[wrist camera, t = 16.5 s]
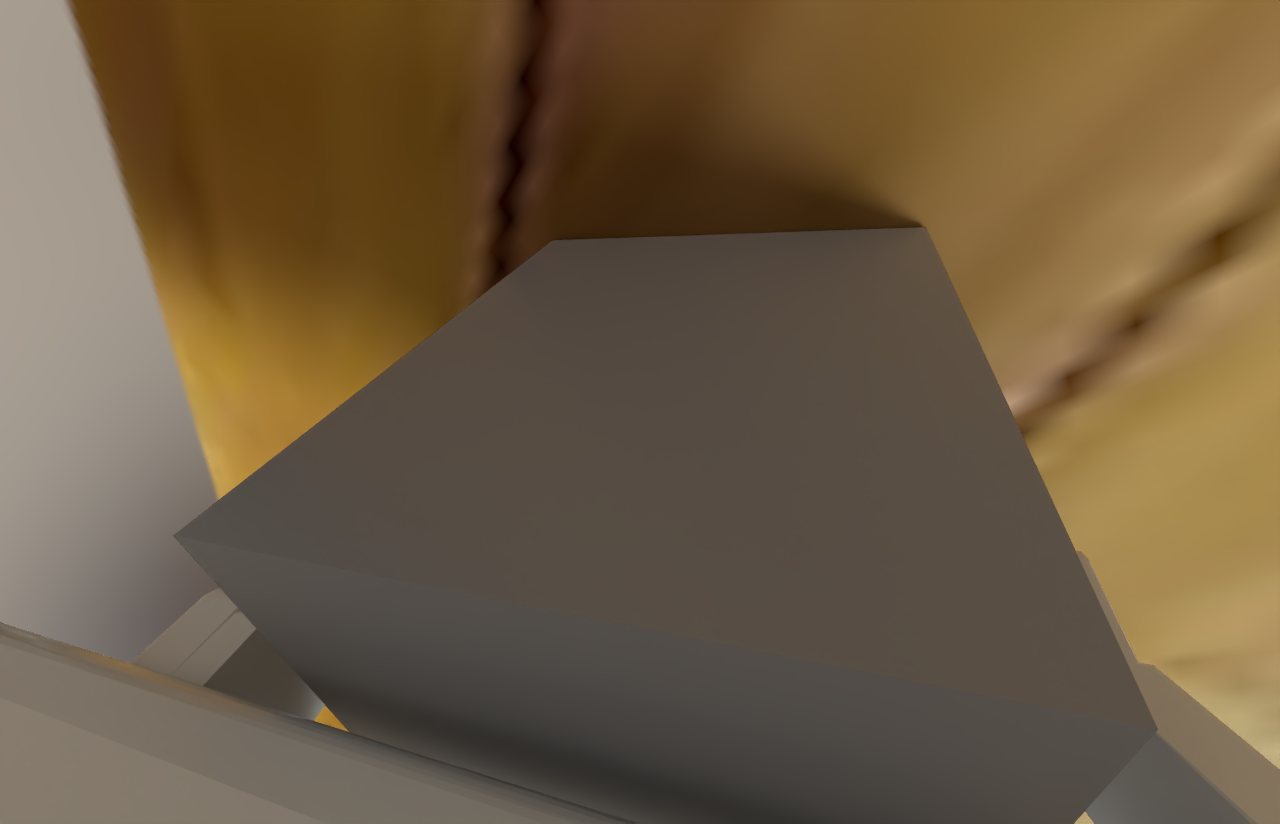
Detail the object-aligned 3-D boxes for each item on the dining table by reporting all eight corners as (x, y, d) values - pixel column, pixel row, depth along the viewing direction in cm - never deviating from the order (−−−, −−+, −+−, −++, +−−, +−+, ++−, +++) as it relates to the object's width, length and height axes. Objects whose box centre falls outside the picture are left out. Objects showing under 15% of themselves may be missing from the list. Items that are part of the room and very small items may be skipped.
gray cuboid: (925, 226, 10) (1158, 729, 3) (872, 518, 14) (912, 1001, 7) (552, 240, 12) (172, 535, 5) (605, 487, 16) (438, 830, 9)
